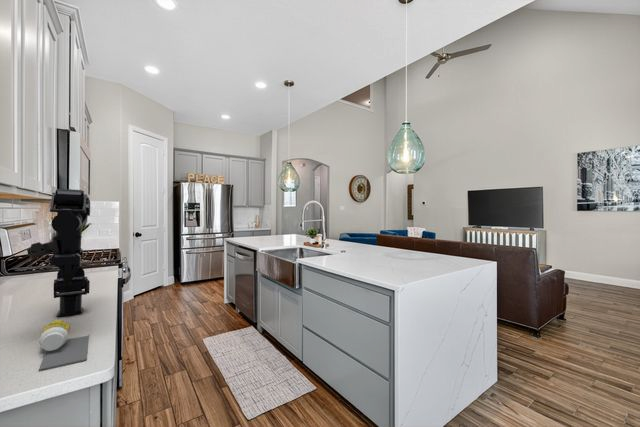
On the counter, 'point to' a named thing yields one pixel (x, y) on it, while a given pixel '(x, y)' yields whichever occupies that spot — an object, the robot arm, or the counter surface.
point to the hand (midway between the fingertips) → (67, 285)
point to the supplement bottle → (54, 335)
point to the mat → (66, 354)
